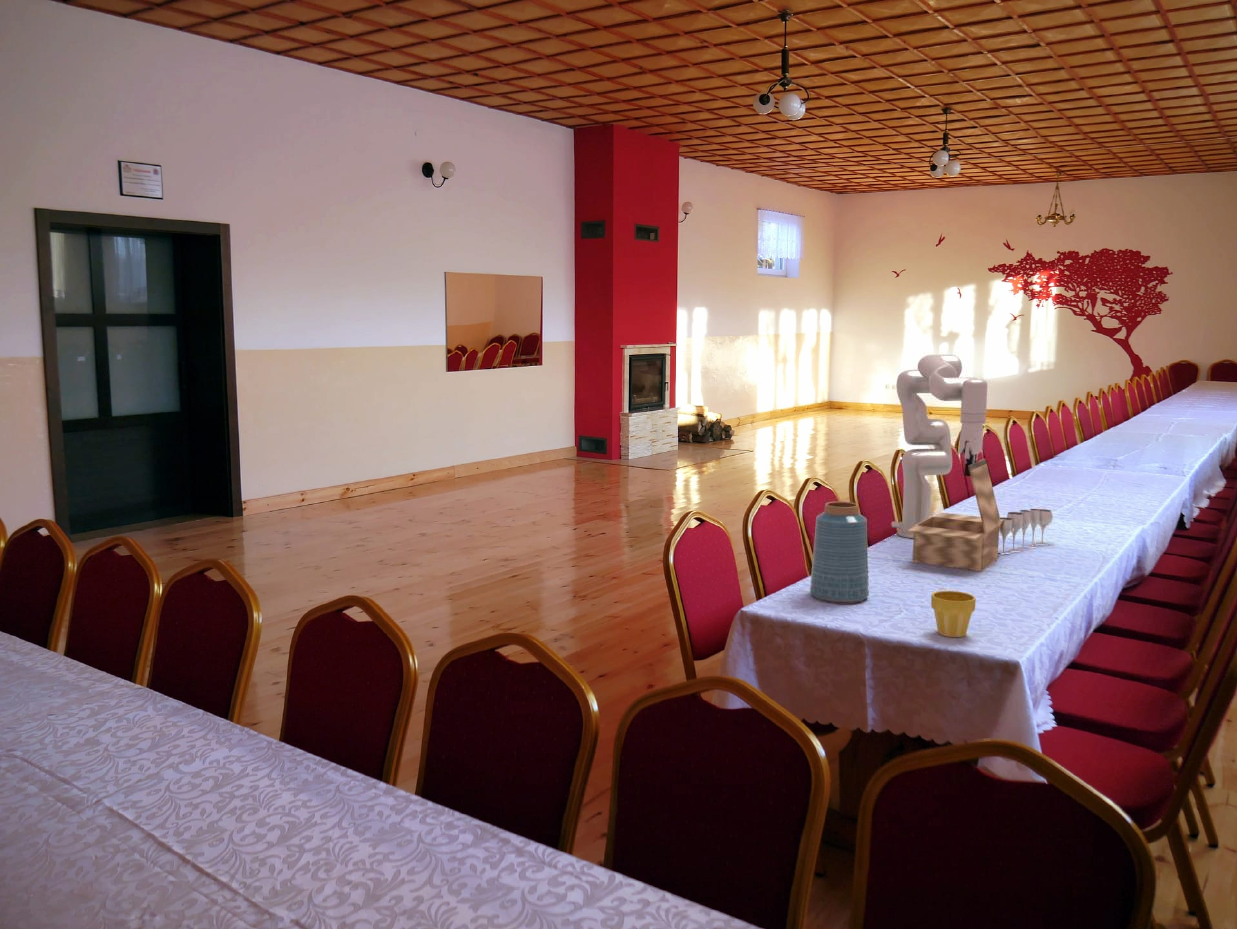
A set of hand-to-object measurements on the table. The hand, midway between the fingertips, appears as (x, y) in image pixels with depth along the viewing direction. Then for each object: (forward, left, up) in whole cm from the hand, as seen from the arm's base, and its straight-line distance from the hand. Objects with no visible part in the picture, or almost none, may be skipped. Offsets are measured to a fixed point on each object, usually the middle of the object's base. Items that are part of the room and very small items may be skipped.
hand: (970, 475), depth 309 cm
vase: (-19, -60, -29) cm, 69 cm away
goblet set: (+11, +31, -29) cm, 43 cm away
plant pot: (+17, -75, -29) cm, 82 cm away
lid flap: (+4, 0, -6) cm, 7 cm away
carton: (-4, 0, -28) cm, 29 cm away
